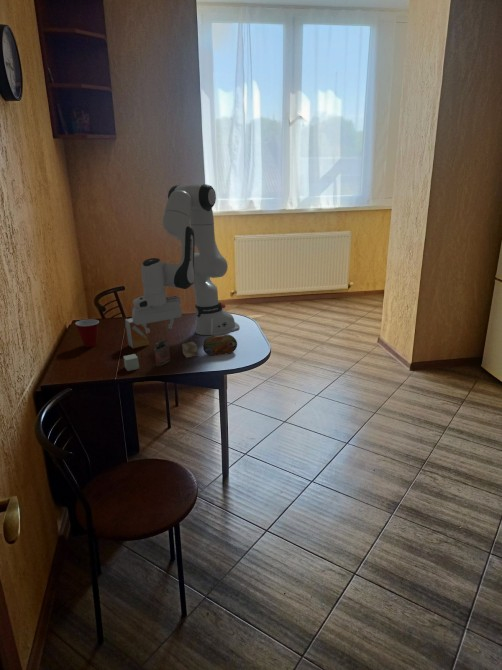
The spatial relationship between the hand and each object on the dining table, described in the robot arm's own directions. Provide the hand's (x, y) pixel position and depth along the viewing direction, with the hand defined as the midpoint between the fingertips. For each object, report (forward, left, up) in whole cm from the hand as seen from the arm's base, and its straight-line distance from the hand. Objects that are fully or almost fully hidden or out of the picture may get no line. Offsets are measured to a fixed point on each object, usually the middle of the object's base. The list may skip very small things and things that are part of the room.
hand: (159, 330), depth 195 cm
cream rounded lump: (-13, -2, -15) cm, 20 cm away
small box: (+4, -27, -15) cm, 31 cm away
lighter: (0, 0, -15) cm, 15 cm away
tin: (-25, +4, -15) cm, 29 cm away
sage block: (+13, -2, -15) cm, 20 cm away
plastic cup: (+24, -40, -15) cm, 49 cm away
